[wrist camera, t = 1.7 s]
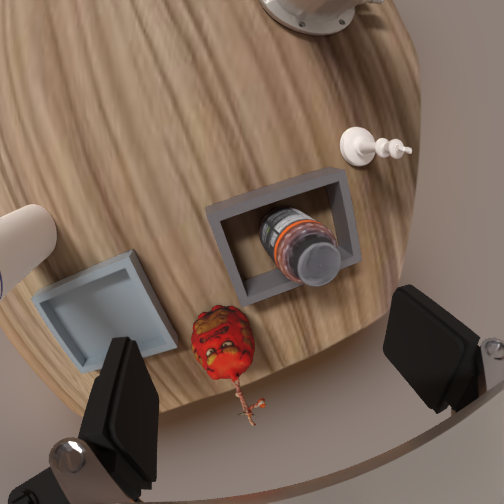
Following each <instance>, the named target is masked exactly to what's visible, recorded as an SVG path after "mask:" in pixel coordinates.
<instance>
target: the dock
mask: <svg viewBox="0 0 504 504" xmlns="http://www.w3.org/2000/svg"><path fill="white" fill-rule="evenodd" d="M325 185H326V189H327V194H328V198H329V202H330V207H331V211H332V216H333V221H334V225H335V230H336V235H337V240H338V246H337V249H338V251H339V253H340V256H341V266H340V269H339V270H341V269H343V268H345V267H348V266H350V265H353V264H355V263H357V262H360V261H362V260H361V253H360V246H359V240H358V234H357V228H356V222H355V217H354V211H353V206H352V201H351V196H350V191H349V186H348V181H347V177H346V172H345V170H344V169H338V168H333V167H327V168H323V169H320V170H316V171H313V172H310V173H306V174H303V175H300V176H297V177H293V178H290V179H287V180H284V181H281V182H278V183H275V184H271V185H268V186H265V187H262V188H259V189H256V190H253V191H250V192H247V193H244V194H242V195H239V196H236V197H233V198H230V199H227V200H224V201H222V202H219V203H216V204H213V205H210V206H208V207H206V215H207V218H208V221H209V223H210V226H211V229H212V231H213V234H214V237H215V239H216V242H217V245H218V247H219V250H220V253H221V255H222V258H223V261H224V263H225V266H226V268H227V271H228V274H229V276H230V279H231V281H232V284H233V286H234V289H235V292H236V294H237V297H238V299H239V302H240V304H241V307H245V306H247V305H250V304H253V303H256V302H258V301H261V300H264V299H267V298H269V297H272V296H275V295H277V294H280V293H282V292H285V291H288V290H290V289H293V288H296V287H298V286H301V285H303V284H302V283H297V282H294V281H291V280H290V279H288V278H287V277H286V276H284V274H283V273H282V272H281V271H280V269H279V268H277V269H275V270H272V271H269V272H266V273H264V274H261V275H258V276H256V277H253V278H250V279H247V280H245V281H242V280H241V277H240V274H239V272H238V269H237V266H236V264H235V261H234V258H233V255H232V253H231V250H230V247H229V244H228V242H227V239H226V236H225V233H224V230H223V228H222V225H221V222H220V221H221V220H224V219H227V218H230V217H233V216H235V215H238V214H241V213H244V212H247V211H250V210H252V209H255V208H258V207H261V206H264V205H267V204H270V203H273V202H276V201H279V200H282V199H285V198H288V197H291V196H294V195H297V194H300V193H303V192H306V191H309V190H312V189H315V188H319V187H322V186H325Z"/></svg>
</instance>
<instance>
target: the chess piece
mask: <svg viewBox="0 0 504 504" xmlns="http://www.w3.org/2000/svg"><path fill="white" fill-rule="evenodd" d="M411 149H412V148H409V147H404V146H403V143H402V142H401V141H400V140H398V139H393V140H391V141H388V140H387V139H385V138H380V139H378V140H377V142H375V140H374V138H373V136H372V135H371V133H370V132H369V131H367V130H366V129H364V128H360V127H352V128H349V129H347V130H346V131H345V132H344V133H343V135H342V137H341V140H340V150H341V153H342V156H343V157H344V159H345V160H346V161H347V162H348V163H349V164H351V165H354V166H363V165H366V164H368V163H369V162H371V160H372V159H373V157H374V155H375V152H376V153H377V154H378V156H380V157H382V158H385V157H388V156H389V155H390V156H391V157H393V158H395V159H399V158H401V157H402V156H403V154H404V152H405V153H408V154H411V153H412V150H411Z"/></svg>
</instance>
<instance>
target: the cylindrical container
mask: <svg viewBox="0 0 504 504" xmlns="http://www.w3.org/2000/svg"><path fill="white" fill-rule="evenodd" d="M56 241H57V231H56V226H55V223H54V220H53V218H52V216H51V215H50V214H49V212H48V211H47V210H46V209H44V208H43V207H41V206H39V205H35V204H31V205H27V206H25V207H22V208H20V209H18V210H16V211H13V212H11V213H9V214H7V215H4V216H2V217H0V301H1V300H2V299H3V298H4V297H5V296H6V295H7V294H8V293H9V292H10V291H11V290H12V289H13V288H14V287H15V286H16V285H17V284H18V283H19V282H20V281H21V280H22V279H24V278H25V277H26V276H27V275H28V274H29V273H30V272H31V271H32V270H33V269H35V268H36V267H37V266H38V265H39V264H40V263H41V262H42V261H44V260H45V259H46V258H47V257H48V256H49V255H50V254H51V253H52V252H53V250H54V248H55V246H56Z"/></svg>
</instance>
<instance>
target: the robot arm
mask: <svg viewBox="0 0 504 504" xmlns="http://www.w3.org/2000/svg"><path fill="white" fill-rule="evenodd" d="M383 1H384V0H259V2H260V3H261V5H262V7H263V8H264V9H265V11H266V12H267V13H268V14H269V15H270V16H271V17H273V18H274V19H275V20H276V21H277V22H279V23H281V24H282V25H284V26H286V27H288V28H290V29H292V30H294V31H297V32H301V33H304V34H309V35H315V36H325V35H331V34H334V33H337V32H339V31H341V30H342V29H344V28H345V27H347V26H348V25H349V24H350V23H351V21H352V19H353V17H354V14H355V6H356V5H358V4H364V3H365V2H368V3H375V4H382V3H383ZM300 26H301V27H300ZM479 339H480V337H479V336H478V335H477V334H475V333H474V332H473V331H472V330H471V329H469V328H468V327H467V326H465V325H464V324H463V323H462V322H460V321H459V320H458V319H456V318H455V317H454V316H453V315H451V314H450V313H449V312H447V311H446V310H445V309H443V308H442V307H441V306H440V305H438V304H437V303H436V302H434V301H433V300H432V299H430V298H429V297H428V296H426V295H425V294H424V293H422V292H421V291H419V290H418V289H416V288H415V287H414V286H412V285H405V286H402V287H398V288H397V289H396V290H395V292H394V293H393V296H392V302H391V308H390V314H389V320H388V325H387V330H386V335H385V340H384V344H383V352H384V354H385V356H386V357H387V358H388V359H389V361H390V362H391V363H392V364H393V365H394V366H395V368H396V369H397V370H398V371H399V372H400V374H401V375H402V376H403V377H404V378H405V380H406V381H407V382H408V383H409V384H410V386H411V387H412V388H413V389H414V390H415V392H416V393H417V394H418V395H419V396H420V398H421V399H422V400H423V401H424V403H425V404H426V405H427V406H428V407H429V408H430V409H433V410H434V411H435V412H436V414H438V413H440V412H442V411H443V410H445V409H446V408H447V407H448V405H450V406H451V407H452V408H451V417H449V418H448V419H446V420H445V421H443V422H441V423H440V424H438V425H436V426H435V427H433V428H431V429H430V430H428V431H426V432H424V433H422V434H421V435H419V436H417V437H415V438H413V439H411V440H409V441H407V442H406V443H404V444H402V445H400V446H398V447H396V448H393V449H391V450H389V451H387V452H385V453H383V454H380V455H378V456H376V457H374V458H371V459H369V460H366V461H364V462H362V463H359V464H356V465H354V466H351V467H349V468H346V469H343V470H340V471H337V472H335V473H332V474H329V475H325V476H322V477H319V478H316V479H313V480H309V481H305V482H302V483H298V484H294V485H290V486H287V487H283V488H278V489H273V490H268V491H263V492H259V493H252V494H247V495H240V496H233V497H226V498H217V499H207V500H196V501H178V502H146V503H145V502H143V501H142V500H141V499H140V498H139V497H140V496H141V489H149V490H151V489H152V482H155V481H156V478H157V435H158V416H159V397H158V393H157V391H156V389H155V387H154V384H153V382H152V380H151V377H150V375H149V373H148V370H147V368H146V365H145V363H144V360H143V358H142V355H141V353H140V350H139V347H138V345H137V342H136V341H135V340H131V339H130V337H128V336H127V337H116V338H112V340H111V343H110V346H109V348H108V351H107V354H106V357H105V360H104V363H103V366H102V369H101V372H100V375H99V376H98V377H96V379H95V381H94V384H93V387H92V390H91V393H90V396H89V400H88V403H87V406H86V410H85V413H84V417H83V421H82V424H81V428H80V432H79V436H78V438H73V437H72V438H65V439H62V440H60V441H59V442H57V443H56V444H55V445H54V446H53V448H52V449H51V451H50V454H49V464H50V467H49V468H47V469H46V470H44V471H42V472H41V473H39V474H38V475H36V476H34V477H33V478H31V479H29V480H28V481H26V482H25V483H23V484H21V485H20V486H18V487H16V488H15V489H14V490H12V492H11V493H10V495H9V498H8V504H504V341H503V340H500V339H497V338H488V339H485V340H484V341H483V342H482V344H481V346H480V347H479V346H478V345H477V344H478V341H479Z"/></svg>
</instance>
